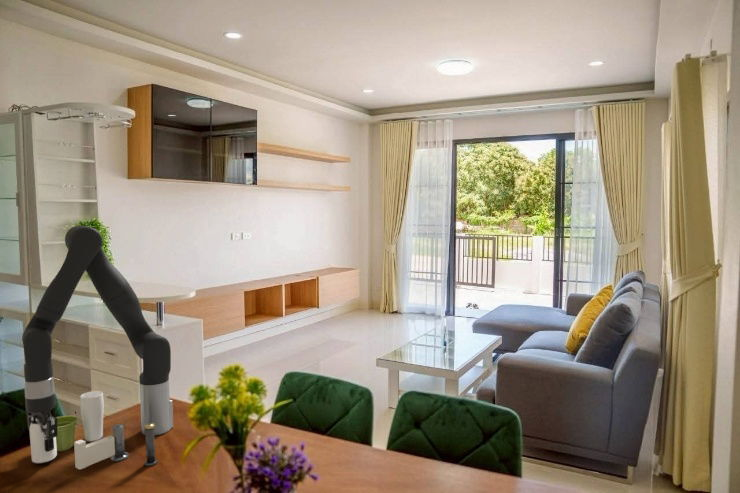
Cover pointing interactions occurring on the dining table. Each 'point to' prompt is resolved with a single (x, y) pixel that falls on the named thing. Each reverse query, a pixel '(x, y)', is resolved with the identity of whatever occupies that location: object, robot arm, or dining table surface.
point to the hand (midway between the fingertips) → (43, 447)
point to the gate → (93, 451)
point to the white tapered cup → (92, 414)
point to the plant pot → (65, 432)
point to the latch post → (150, 445)
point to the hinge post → (119, 443)
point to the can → (40, 445)
